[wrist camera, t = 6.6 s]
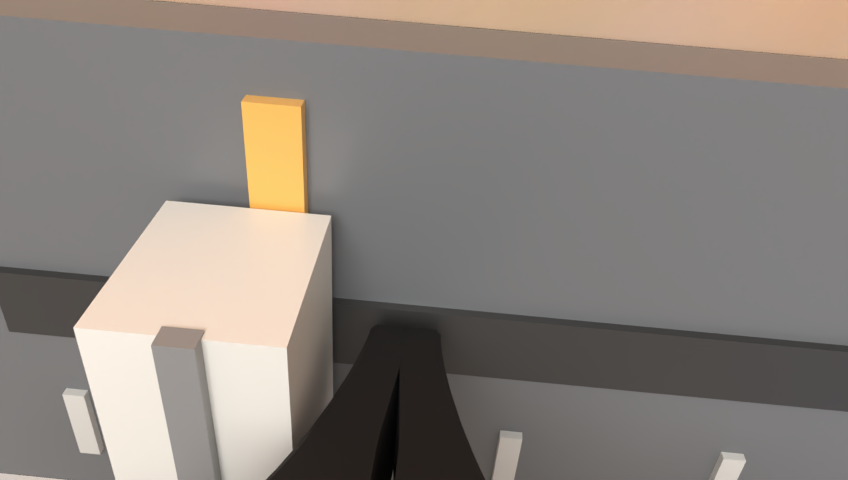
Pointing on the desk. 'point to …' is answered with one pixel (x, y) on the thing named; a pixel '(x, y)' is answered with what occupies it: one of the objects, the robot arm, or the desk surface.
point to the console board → (454, 223)
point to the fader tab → (212, 343)
